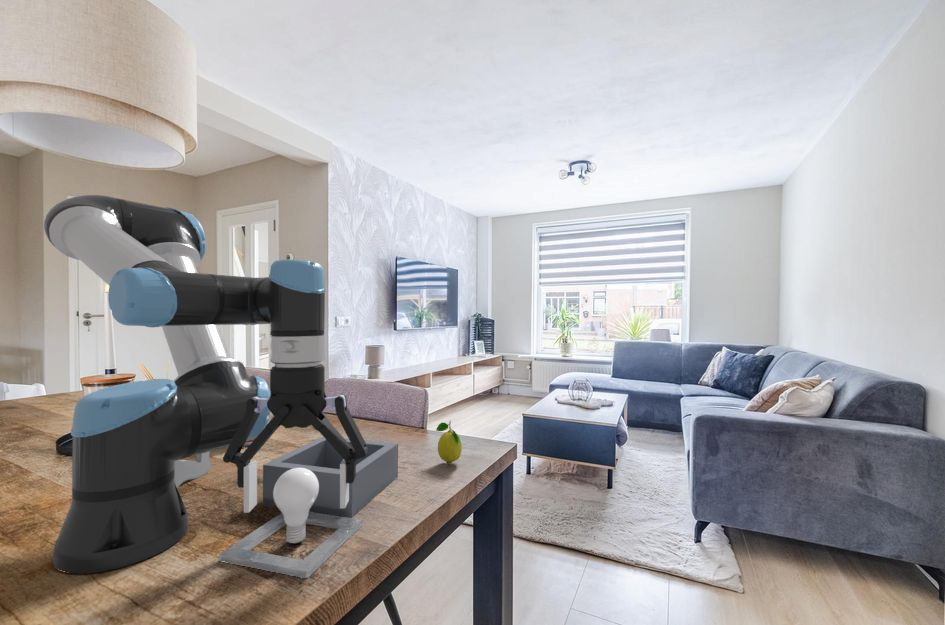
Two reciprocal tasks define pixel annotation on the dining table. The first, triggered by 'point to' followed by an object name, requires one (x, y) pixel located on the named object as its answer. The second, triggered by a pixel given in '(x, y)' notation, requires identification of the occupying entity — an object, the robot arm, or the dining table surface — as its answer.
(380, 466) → the bin
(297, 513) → the lightbulb
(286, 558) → the grey square frame
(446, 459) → the lemon
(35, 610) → the dining table surface
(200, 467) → the light grey hook
